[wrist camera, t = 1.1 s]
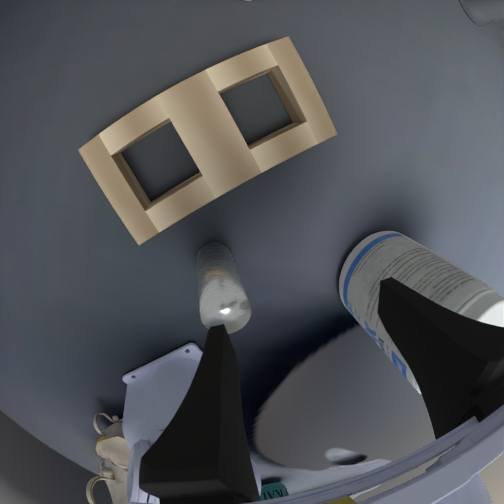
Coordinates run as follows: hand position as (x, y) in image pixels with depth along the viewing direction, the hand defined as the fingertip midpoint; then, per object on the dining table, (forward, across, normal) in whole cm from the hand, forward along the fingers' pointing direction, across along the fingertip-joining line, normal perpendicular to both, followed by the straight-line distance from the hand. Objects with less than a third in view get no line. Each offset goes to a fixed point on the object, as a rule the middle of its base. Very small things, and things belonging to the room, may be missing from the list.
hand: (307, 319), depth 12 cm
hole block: (+13, +3, -7) cm, 15 cm away
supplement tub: (+13, -10, +9) cm, 19 cm away
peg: (+12, +5, +3) cm, 13 cm away
